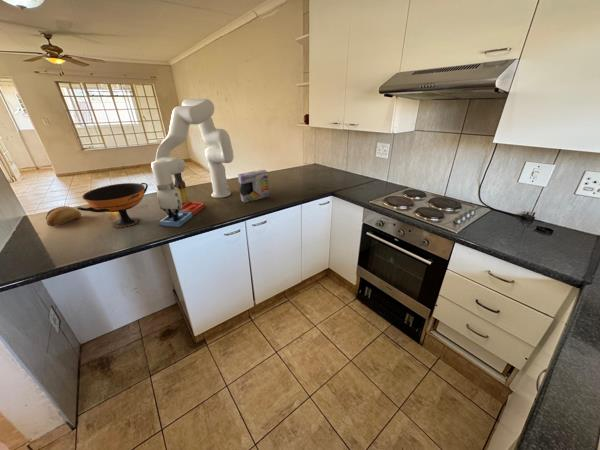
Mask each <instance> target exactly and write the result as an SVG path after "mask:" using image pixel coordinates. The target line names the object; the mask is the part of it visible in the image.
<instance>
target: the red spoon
mask: <svg viewBox="0 0 600 450" xmlns="http://www.w3.org/2000/svg"><path fill="white" fill-rule="evenodd" d="M195 208H197V205H191V206H189V207H188V208H187V209H185V210H193V209H195Z"/></svg>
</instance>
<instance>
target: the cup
mask: <svg viewBox="0 0 600 450" xmlns="http://www.w3.org/2000/svg"><path fill="white" fill-rule="evenodd" d="M148 188H149V185H148V184H147V182H141V183H138V182H137V183H136V182H125V183H124V182H123V183H115V184H108V185H103V186H101V187H97V188H94V189H91V190H89V191H87V192H85V193H84V194H82V200H84V202H86V203H87V204H88V205H89V207H81V206H78V207H76V209H77V210H78V211H82V212H91V213H118V214H119V217H120V219H119V220H117V221H116V222H115V223H114V226H115V227H117V228H127V227H131V226H133V225H135V224H137V223H138V221H139V218H137V217H130V216H129V215H128V212H127V210H130V209H132V208H134V207H136V206H137V205H139V204H140V203H141V202H142V200H143V198H144V196H145V194H146V192H147V190H148Z"/></svg>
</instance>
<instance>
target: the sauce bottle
mask: <svg viewBox="0 0 600 450" xmlns="http://www.w3.org/2000/svg"><path fill="white" fill-rule="evenodd" d="M173 177H174V185H176V189H177V191H178V193H179V195H180V198H181V202H182V206H183V205H184V204H186V203H187V202H190V198H189V193H188V189H187V186H186V185H187V184H186V182H185V181H184V180H183V177H182V172H181V173H178V174H173Z"/></svg>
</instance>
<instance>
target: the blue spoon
mask: <svg viewBox="0 0 600 450" xmlns="http://www.w3.org/2000/svg"><path fill="white" fill-rule="evenodd" d="M178 217H179V218H181V217H183V213H178ZM169 221H174V219H173V217H172V218H170V219H169ZM174 222H175V221H174Z"/></svg>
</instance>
